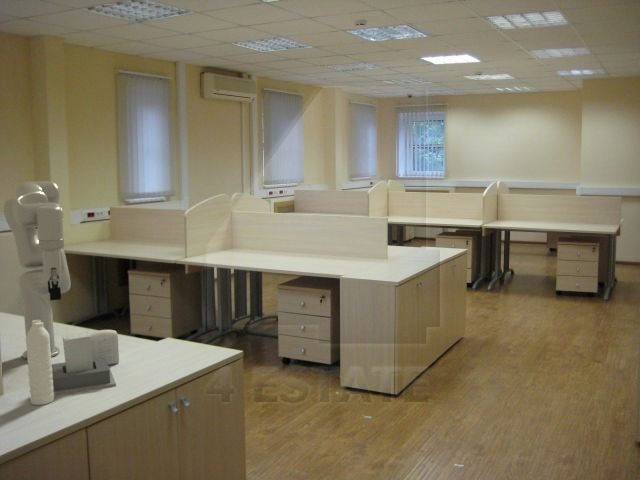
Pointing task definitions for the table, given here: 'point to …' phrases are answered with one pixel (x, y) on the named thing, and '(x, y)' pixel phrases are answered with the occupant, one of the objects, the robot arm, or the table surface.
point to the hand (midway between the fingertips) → (54, 296)
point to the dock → (82, 378)
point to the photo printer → (105, 345)
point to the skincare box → (78, 352)
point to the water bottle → (39, 364)
